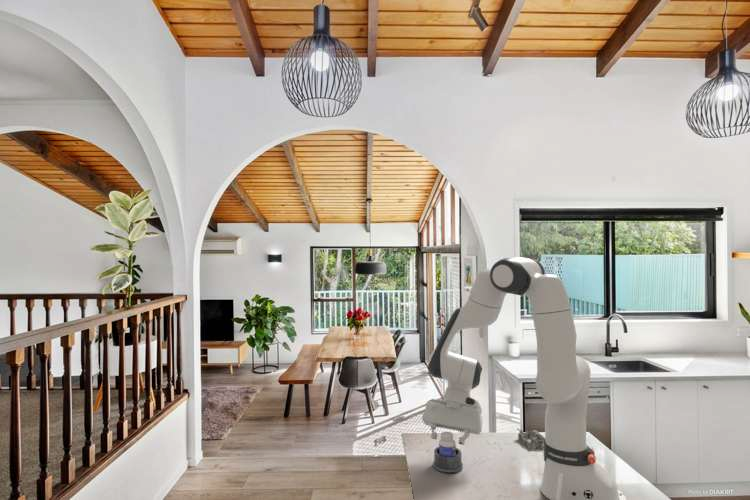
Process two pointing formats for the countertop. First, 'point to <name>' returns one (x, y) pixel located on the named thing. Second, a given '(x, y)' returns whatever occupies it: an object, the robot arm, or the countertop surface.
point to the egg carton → (531, 438)
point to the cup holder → (447, 462)
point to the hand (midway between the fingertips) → (447, 441)
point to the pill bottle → (447, 444)
